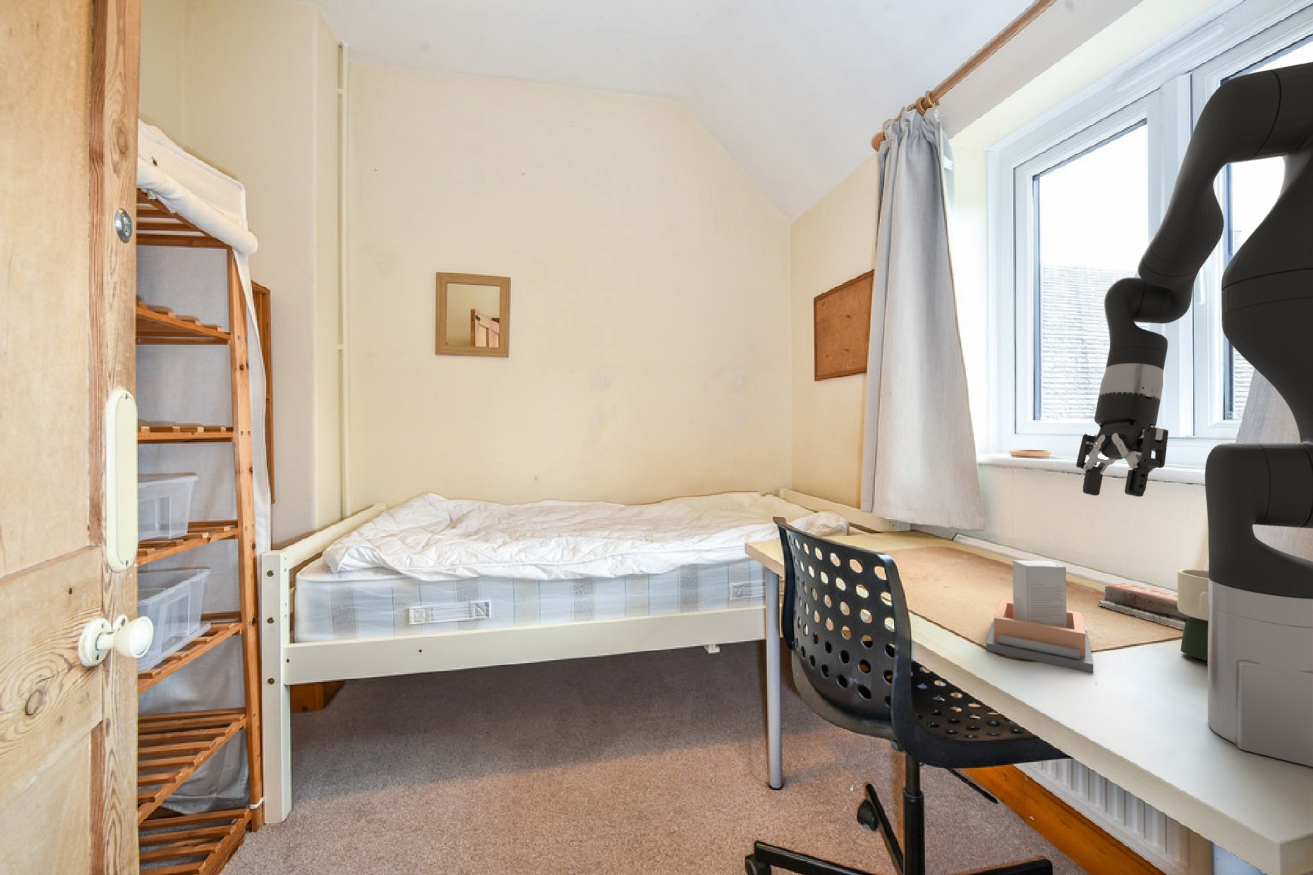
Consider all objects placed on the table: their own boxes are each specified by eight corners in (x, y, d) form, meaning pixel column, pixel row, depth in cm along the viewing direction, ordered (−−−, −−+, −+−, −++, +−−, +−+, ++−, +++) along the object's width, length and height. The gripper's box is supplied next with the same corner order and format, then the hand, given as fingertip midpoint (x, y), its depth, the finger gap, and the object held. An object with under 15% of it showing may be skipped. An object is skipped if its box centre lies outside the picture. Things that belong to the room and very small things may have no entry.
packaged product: (1095, 583, 105) (1130, 579, 108) (1095, 607, 105) (1130, 603, 108) (1213, 612, 88) (1250, 607, 91) (1213, 641, 88) (1250, 635, 91)
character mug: (1240, 679, 73) (1241, 586, 73) (1169, 661, 79) (1170, 575, 79) (1249, 658, 80) (1250, 573, 80) (1183, 644, 86) (1184, 564, 86)
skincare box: (1050, 631, 88) (1050, 560, 88) (1067, 642, 84) (1067, 566, 84) (1011, 630, 88) (1011, 559, 88) (1026, 640, 84) (1026, 565, 84)
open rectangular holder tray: (1093, 672, 76) (1093, 640, 76) (986, 650, 83) (986, 620, 83) (1087, 637, 88) (1087, 609, 88) (995, 621, 96) (995, 595, 96)
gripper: (1072, 399, 92) (1055, 489, 91) (1142, 382, 78) (1123, 489, 77) (1117, 408, 92) (1100, 499, 90) (1195, 394, 78) (1177, 502, 76)
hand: (1111, 495), depth 84 cm, fingers open, 8 cm apart
